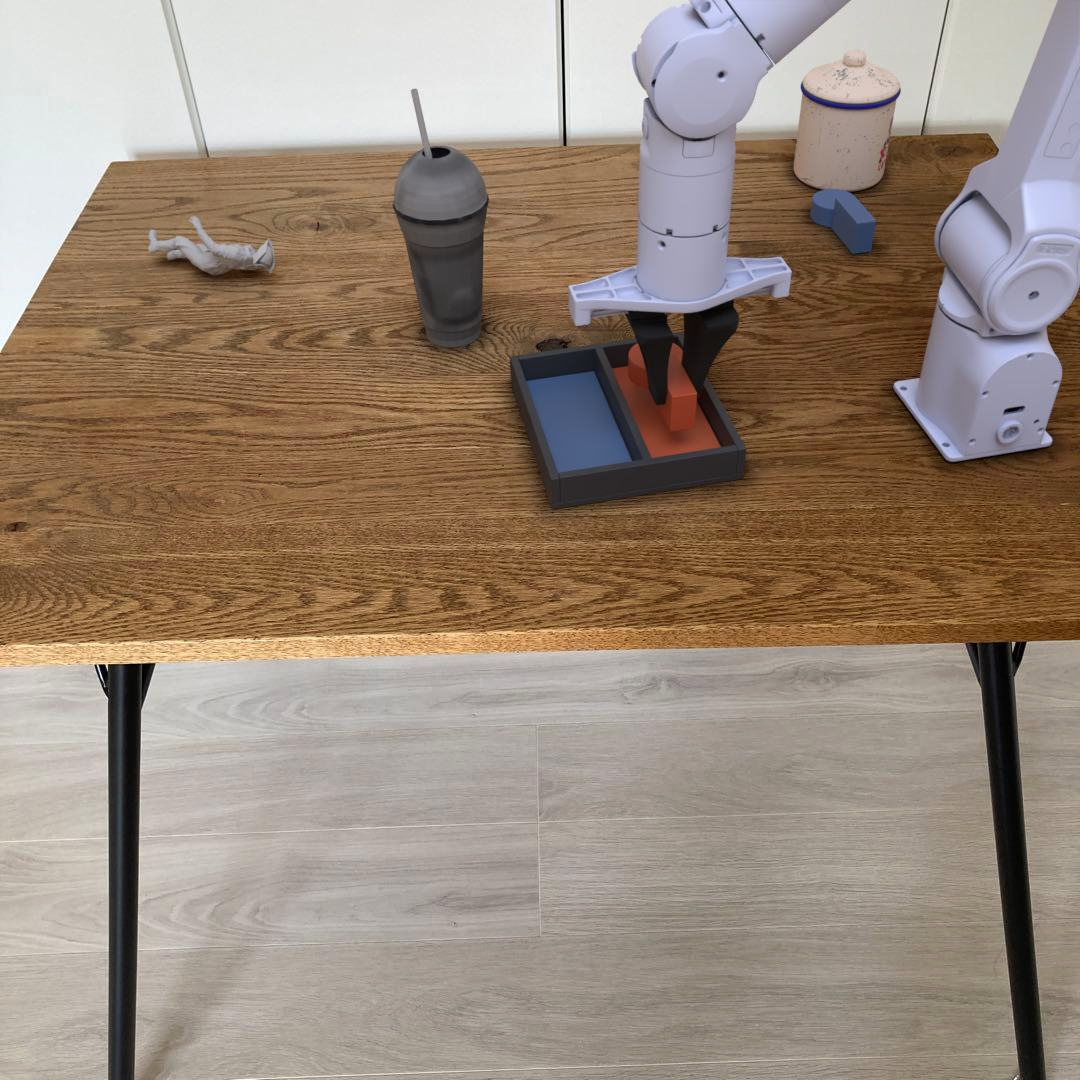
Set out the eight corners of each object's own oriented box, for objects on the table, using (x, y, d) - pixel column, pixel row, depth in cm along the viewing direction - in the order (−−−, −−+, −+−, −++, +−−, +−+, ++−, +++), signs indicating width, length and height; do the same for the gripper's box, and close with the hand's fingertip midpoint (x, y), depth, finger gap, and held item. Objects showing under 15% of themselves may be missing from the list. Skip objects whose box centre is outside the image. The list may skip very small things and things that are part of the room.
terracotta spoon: (710, 426, 82) (713, 390, 80) (654, 434, 82) (656, 399, 80) (673, 356, 89) (675, 321, 87) (622, 363, 88) (622, 329, 86)
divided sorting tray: (743, 479, 82) (746, 448, 80) (552, 509, 80) (551, 479, 78) (680, 360, 93) (682, 331, 91) (511, 385, 91) (509, 355, 89)
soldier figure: (197, 250, 110) (300, 228, 105) (195, 301, 110) (299, 281, 104) (134, 222, 103) (241, 197, 98) (132, 276, 103) (239, 254, 97)
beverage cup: (486, 360, 94) (467, 114, 80) (398, 353, 95) (365, 108, 81) (506, 312, 99) (492, 72, 85) (422, 305, 100) (395, 68, 86)
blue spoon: (883, 250, 104) (889, 219, 102) (840, 256, 104) (845, 225, 102) (844, 204, 111) (848, 174, 109) (803, 209, 110) (807, 179, 108)
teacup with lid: (899, 190, 112) (921, 67, 105) (805, 198, 112) (821, 75, 104) (858, 137, 121) (876, 20, 113) (771, 145, 121) (784, 27, 113)
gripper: (772, 173, 77) (753, 348, 87) (556, 201, 75) (560, 376, 85) (812, 223, 72) (787, 404, 81) (581, 254, 70) (583, 435, 80)
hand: (673, 394), depth 83 cm, fingers closed on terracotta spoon, 2 cm apart
